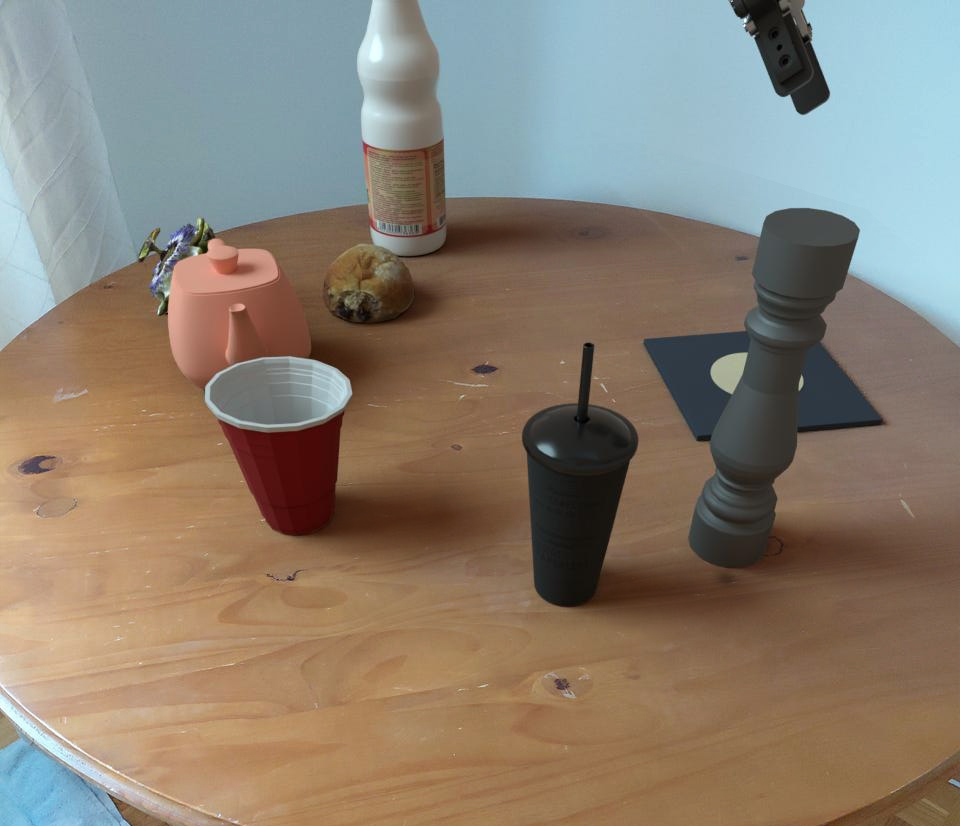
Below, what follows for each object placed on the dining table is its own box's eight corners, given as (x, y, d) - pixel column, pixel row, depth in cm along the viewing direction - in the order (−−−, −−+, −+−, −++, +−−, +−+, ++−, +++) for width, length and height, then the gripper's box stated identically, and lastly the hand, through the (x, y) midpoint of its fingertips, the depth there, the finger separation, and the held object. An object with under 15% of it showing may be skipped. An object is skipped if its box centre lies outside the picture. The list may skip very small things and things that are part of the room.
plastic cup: (393, 512, 74) (381, 384, 66) (289, 574, 69) (261, 444, 60) (313, 458, 80) (292, 333, 71) (210, 512, 74) (174, 385, 66)
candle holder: (767, 572, 69) (870, 252, 51) (687, 562, 70) (760, 244, 52) (764, 522, 74) (858, 209, 55) (688, 514, 74) (757, 202, 56)
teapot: (192, 441, 82) (157, 315, 73) (171, 338, 94) (139, 221, 86) (335, 415, 84) (317, 291, 76) (296, 318, 97) (277, 203, 88)
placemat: (805, 331, 95) (807, 325, 95) (881, 424, 83) (883, 418, 83) (643, 343, 94) (643, 337, 93) (696, 441, 81) (697, 434, 81)
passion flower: (183, 357, 102) (138, 251, 99) (272, 326, 103) (230, 220, 100) (165, 347, 91) (114, 227, 88) (265, 312, 92) (218, 192, 89)
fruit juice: (393, 264, 107) (372, -22, 86) (358, 236, 112) (330, -39, 92) (460, 246, 110) (456, -33, 89) (423, 220, 115) (410, -49, 95)
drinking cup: (543, 632, 65) (562, 389, 50) (499, 568, 70) (505, 329, 55) (634, 602, 67) (677, 361, 52) (585, 542, 72) (612, 305, 57)
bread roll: (422, 339, 101) (442, 266, 98) (357, 332, 94) (376, 253, 90) (365, 310, 106) (381, 240, 103) (298, 301, 98) (313, 225, 95)
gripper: (739, -277, 45) (857, 37, 48) (783, -170, 57) (876, 78, 60) (613, -161, 50) (727, 122, 52) (677, -84, 61) (768, 145, 64)
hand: (806, 98), depth 56 cm, fingers open, 8 cm apart
